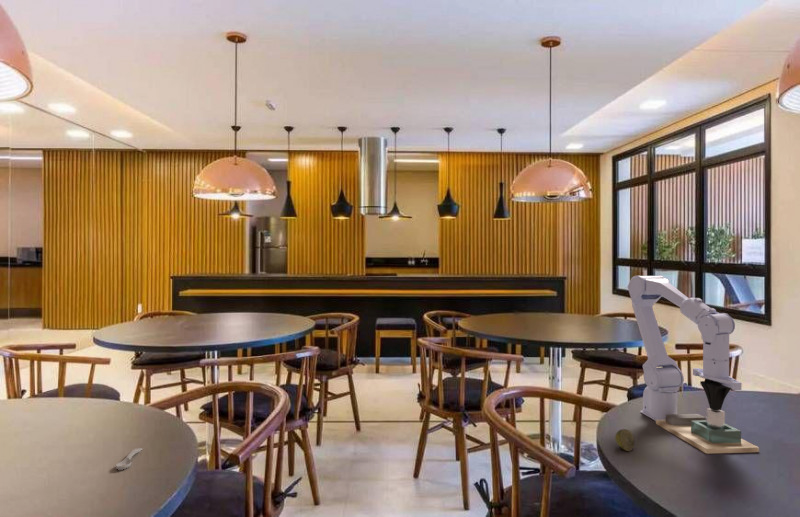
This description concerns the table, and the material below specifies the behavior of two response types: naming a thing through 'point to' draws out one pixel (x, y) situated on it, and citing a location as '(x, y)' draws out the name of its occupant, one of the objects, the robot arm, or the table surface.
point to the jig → (706, 434)
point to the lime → (625, 439)
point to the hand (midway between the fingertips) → (715, 409)
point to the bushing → (715, 419)
